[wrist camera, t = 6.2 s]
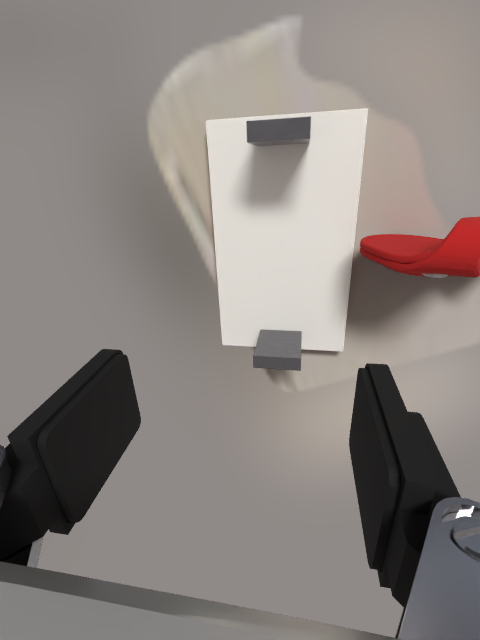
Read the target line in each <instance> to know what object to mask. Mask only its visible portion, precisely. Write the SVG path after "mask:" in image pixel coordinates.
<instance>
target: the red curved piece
mask: <svg viewBox="0 0 480 640" xmlns="http://www.w3.org/2000/svg"><path fill="white" fill-rule="evenodd" d="M360 246H361V247H360V253H361V254H362V255H363V256H364V257H366V258H368V259H370V260H372V261H375V262H377V263H379V264H382V265H384V266H385V267H387V268H389V269H392V270H394V271H397V272H400V273H404V274H409V275H415V276H427V277H431V278H444V277H448V276H449V275H450V276H464V277H478V276H480V217H469V218H462V219H460V220H459V221H458V222H457V223H456V225H455V226H454V227H453V229H452V230H451V231H450V233H449V234H448V235H447V237H446V238H445V239H438V238H431V237H422V236H413V235H395V234H386V235H372V236H367V237H364V238H363V239H361V242H360Z"/></svg>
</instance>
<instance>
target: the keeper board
mask: <svg viewBox="0 0 480 640" xmlns="http://www.w3.org/2000/svg"><path fill="white" fill-rule="evenodd" d="M367 114H368V108H364V109H351V110H337V111H324V112H310V113H297V114H284V115H270V116H257V117H243V118H230V119H216V120H206V131H207V145H208V158H209V172H210V185H211V199H212V212H213V225H214V239H215V252H216V266H217V279H218V293H219V306H220V320H221V333H222V345H231V346H250V347H256V348H255V351H254V355H253V363H254V368H268V369H284V370H299V371H301V349H306V350H325V351H343V347H344V337H345V328H346V318H347V308H348V299H349V289H350V279H351V270H352V260H353V250H354V240H355V231H356V221H357V211H358V202H359V192H360V182H361V173H362V163H363V153H364V144H365V134H366V124H367Z"/></svg>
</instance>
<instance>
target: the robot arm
mask: <svg viewBox="0 0 480 640" xmlns="http://www.w3.org/2000/svg"><path fill="white" fill-rule="evenodd" d="M140 423H141V417H140V412H139V407H138V403H137V398H136V394H135V389H134V385H133V380H132V375H131V370H130V366H129V361H128V357H127V356H126V355H124V354H123V353H122V351H121V350H111V349H102V350H101V351H100V352H99V353H97V355H95V356H94V357H93V358H92V359H91V360H90V361H89V362H88V363H87V364H85V365H84V366H83V367H82V368H81V369H80V370H79V371H78V372H77V373H76V374H75V375H74V376H73V377H71V378H70V379H69V380H68V381H67V382H66V383H65V384H64V385H63V386H62V387H60V388H59V389H58V390H57V391H56V392H55V393H54V394H53V395H52V396H51V397H50V398H49V399H48V400H46V401H45V402H44V403H43V404H42V405H41V406H40V407H39V408H38V409H37V410H35V411H34V412H33V413H32V414H31V415H30V416H29V417H28V418H27V419H26V420H24V422H22V423H21V424H20V425H19V426H18V427H17V428H16V429H15V430H14V431H12V432H11V433H10V434H9V435H8V439H9V441H10V444H9V445H8V446H7V447H6V448H5V449H4V447H3V446H2V445H0V640H480V503H479V502H476V501H473V500H470V499H467V498H461V497H460V495H459V493H458V491H457V488H456V486H455V484H454V482H453V480H452V478H451V476H450V473H449V471H448V469H447V467H446V465H445V463H444V461H443V459H442V457H441V454H440V452H439V450H438V448H437V446H436V444H435V442H434V440H433V438H432V435H431V433H430V431H429V429H428V427H427V425H426V423H425V421H424V418H423V417H422V415H421V414H420V413H417V412H407V409H406V407H405V405H404V402H403V400H402V398H401V395H400V393H399V390H398V388H397V386H396V383H395V381H394V379H393V376H392V374H391V371H390V369H389V367H388V365H386V364H366V366H365V368H359V370H358V375H357V383H356V392H355V398H354V406H353V414H352V422H351V429H350V438H349V446H350V454H351V460H352V466H353V473H354V479H355V485H356V491H357V497H358V503H359V509H360V515H361V522H362V528H363V534H364V539H365V546H366V553H367V559H368V564H369V567H370V569H376V570H378V576H379V582H380V586H381V587H386V588H391V591H392V596H393V597H394V598H395V599H396V600H397V601H398V602H399V603H400V604H401V605H402V606H403V607H404V608H403V612H402V615H401V618H400V622H399V626H398V629H397V633H396V637H395V638H391V637H387V636H382V635H377V634H373V633H368V632H364V631H359V630H354V629H350V628H345V627H340V626H335V625H331V624H326V623H322V622H317V621H312V620H306V619H301V618H296V617H291V616H286V615H281V614H276V613H271V612H265V611H260V610H255V609H250V608H245V607H239V606H234V605H229V604H224V603H219V602H214V601H208V600H204V599H198V598H193V597H188V596H183V595H178V594H172V593H167V592H162V591H156V590H151V589H145V588H141V587H135V586H130V585H124V584H119V583H114V582H108V581H103V580H98V579H92V578H87V577H81V576H76V575H71V574H66V573H61V572H54V571H50V570H44V569H39V568H37V565H38V560H39V555H40V550H41V546H42V541H43V536H44V535H45V533H46V532H47V530H48V529H49V530H50V532H54V533H60V534H66V535H68V534H69V532H70V531H71V529H72V527H73V526H74V524H75V523H76V522H79V521H80V520H82V518H83V517H84V516H85V514H86V512H87V511H88V509H89V508H90V506H91V504H92V503H93V501H94V499H95V498H96V496H97V495H98V493H99V491H100V490H101V488H102V487H103V485H104V483H105V482H106V480H107V479H108V477H109V475H110V474H111V472H112V471H113V469H114V467H115V466H116V464H117V463H118V461H119V459H120V458H121V456H122V455H123V453H124V451H125V450H126V448H127V446H128V445H129V443H130V442H131V440H132V439H133V437H134V435H135V434H136V432H137V431H138V429H139V426H140Z"/></svg>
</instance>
